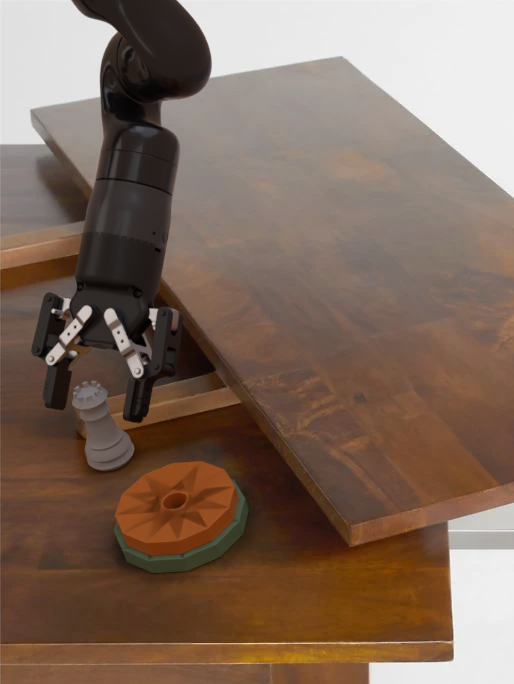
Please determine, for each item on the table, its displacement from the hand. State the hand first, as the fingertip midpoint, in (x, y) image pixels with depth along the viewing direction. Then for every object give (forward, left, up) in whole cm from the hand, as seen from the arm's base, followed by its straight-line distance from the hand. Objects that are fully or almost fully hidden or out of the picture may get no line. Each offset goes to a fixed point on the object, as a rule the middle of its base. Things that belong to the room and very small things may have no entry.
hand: (92, 415), depth 124 cm
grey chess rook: (0, 0, -6) cm, 6 cm away
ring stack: (+9, -10, -5) cm, 14 cm away
